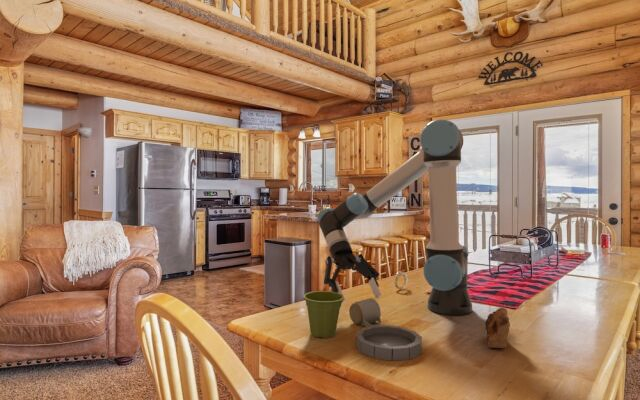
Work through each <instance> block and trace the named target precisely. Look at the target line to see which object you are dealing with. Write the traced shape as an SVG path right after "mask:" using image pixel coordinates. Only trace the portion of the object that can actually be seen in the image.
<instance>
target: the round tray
mask: <svg viewBox="0 0 640 400" xmlns="http://www.w3.org/2000/svg"><path fill="white" fill-rule="evenodd" d="M375 325H376V326H369V327H367V326H365V327H362V328H360V329H359V330H358V332H357V333H356V334H355V347H356V348H357V350H358V351H359V353H361V354H363V355H365V356H369V357H370V358H371V359H375V360H376V359H378V360H384V361H393V362H394V361H396V362H397V361H408V360H412V359H413V358H416V357H418V356H420V355H421V353H422V347H423V344H422V343H423V341H422V339H423V338H422V336H421V335H420V334H418V332H417V331H414V330H413V329H409V328H407V327H403V326H397V325H390V324H381V325H379V324H375Z"/></svg>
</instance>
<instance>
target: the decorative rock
mask: <svg viewBox="0 0 640 400" xmlns="http://www.w3.org/2000/svg"><path fill="white" fill-rule="evenodd" d="M484 326H485V332H486V340H487V345H488V348H492V349H503V348H506V347H507V339H508V336H509V333H510V327H511V323H510V318H509V316H508V310H507V308H505V307H499V308H498V309H496V310H494V311H493V312H492V313H489V314H488V315H487V318H486V320H485V322H484Z"/></svg>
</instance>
